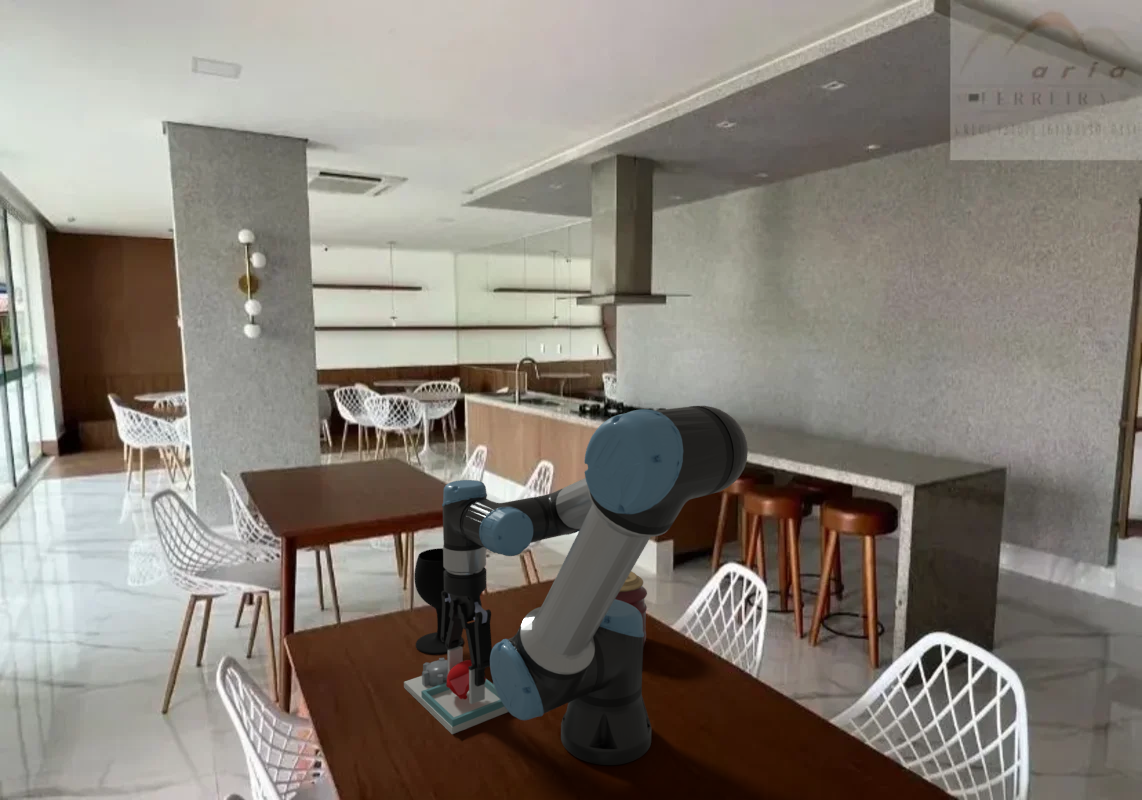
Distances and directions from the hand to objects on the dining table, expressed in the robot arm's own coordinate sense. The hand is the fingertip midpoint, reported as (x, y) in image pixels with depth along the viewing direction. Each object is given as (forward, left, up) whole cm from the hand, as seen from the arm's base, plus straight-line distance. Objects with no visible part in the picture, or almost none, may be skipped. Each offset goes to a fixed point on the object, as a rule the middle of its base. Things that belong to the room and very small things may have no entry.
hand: (465, 691), depth 122 cm
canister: (+3, -39, -3) cm, 39 cm away
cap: (0, 0, 0) cm, 0 cm away
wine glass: (+26, -8, -3) cm, 27 cm away
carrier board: (+4, 0, -3) cm, 5 cm away
